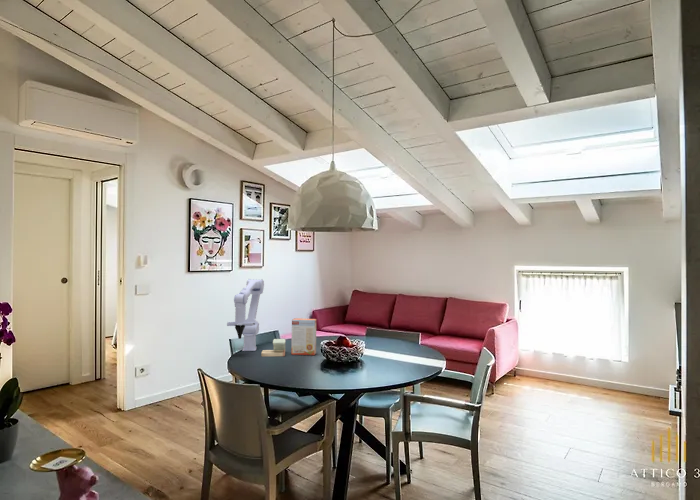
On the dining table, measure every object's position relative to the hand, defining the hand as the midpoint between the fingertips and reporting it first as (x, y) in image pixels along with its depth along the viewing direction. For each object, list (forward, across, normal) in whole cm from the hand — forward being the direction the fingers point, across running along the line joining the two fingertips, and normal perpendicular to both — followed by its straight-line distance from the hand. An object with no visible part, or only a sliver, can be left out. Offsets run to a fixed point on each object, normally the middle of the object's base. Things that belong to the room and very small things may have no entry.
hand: (239, 338), depth 251 cm
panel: (+10, +19, +2) cm, 21 cm away
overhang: (+10, +22, +2) cm, 25 cm away
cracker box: (+10, +37, +3) cm, 38 cm away
